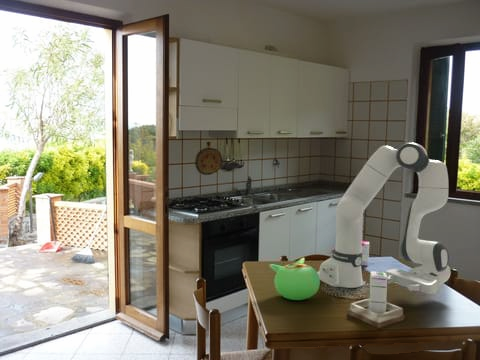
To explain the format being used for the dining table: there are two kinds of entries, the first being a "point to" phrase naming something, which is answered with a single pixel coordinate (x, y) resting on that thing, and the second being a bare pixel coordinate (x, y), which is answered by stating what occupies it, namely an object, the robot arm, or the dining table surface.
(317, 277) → the toy bird
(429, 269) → the robot arm
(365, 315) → the socket stand
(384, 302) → the syrup box
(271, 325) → the dining table surface
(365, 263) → the supplement box
